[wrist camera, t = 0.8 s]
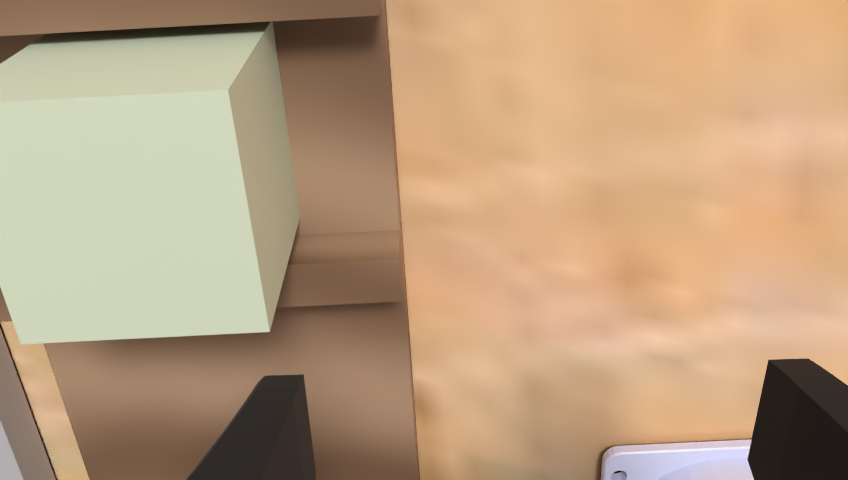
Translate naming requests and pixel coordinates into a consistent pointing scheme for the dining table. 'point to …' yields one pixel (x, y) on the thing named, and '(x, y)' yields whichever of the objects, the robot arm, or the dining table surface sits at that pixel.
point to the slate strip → (18, 429)
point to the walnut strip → (305, 274)
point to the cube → (144, 183)
